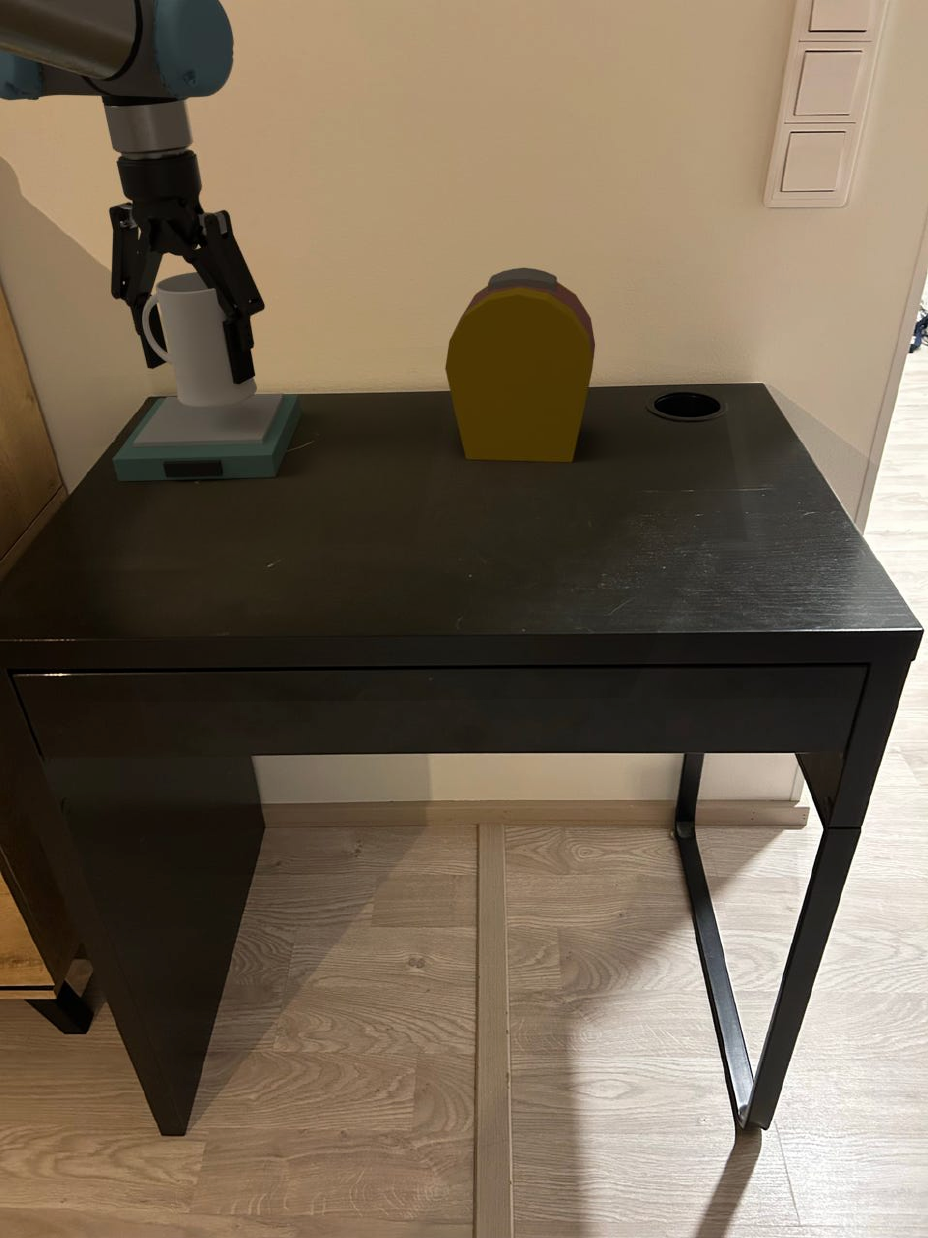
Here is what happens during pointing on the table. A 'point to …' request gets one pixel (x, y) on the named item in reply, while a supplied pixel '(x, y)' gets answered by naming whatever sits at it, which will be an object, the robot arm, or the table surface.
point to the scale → (210, 440)
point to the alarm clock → (521, 369)
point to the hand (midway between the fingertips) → (200, 372)
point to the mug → (196, 343)
